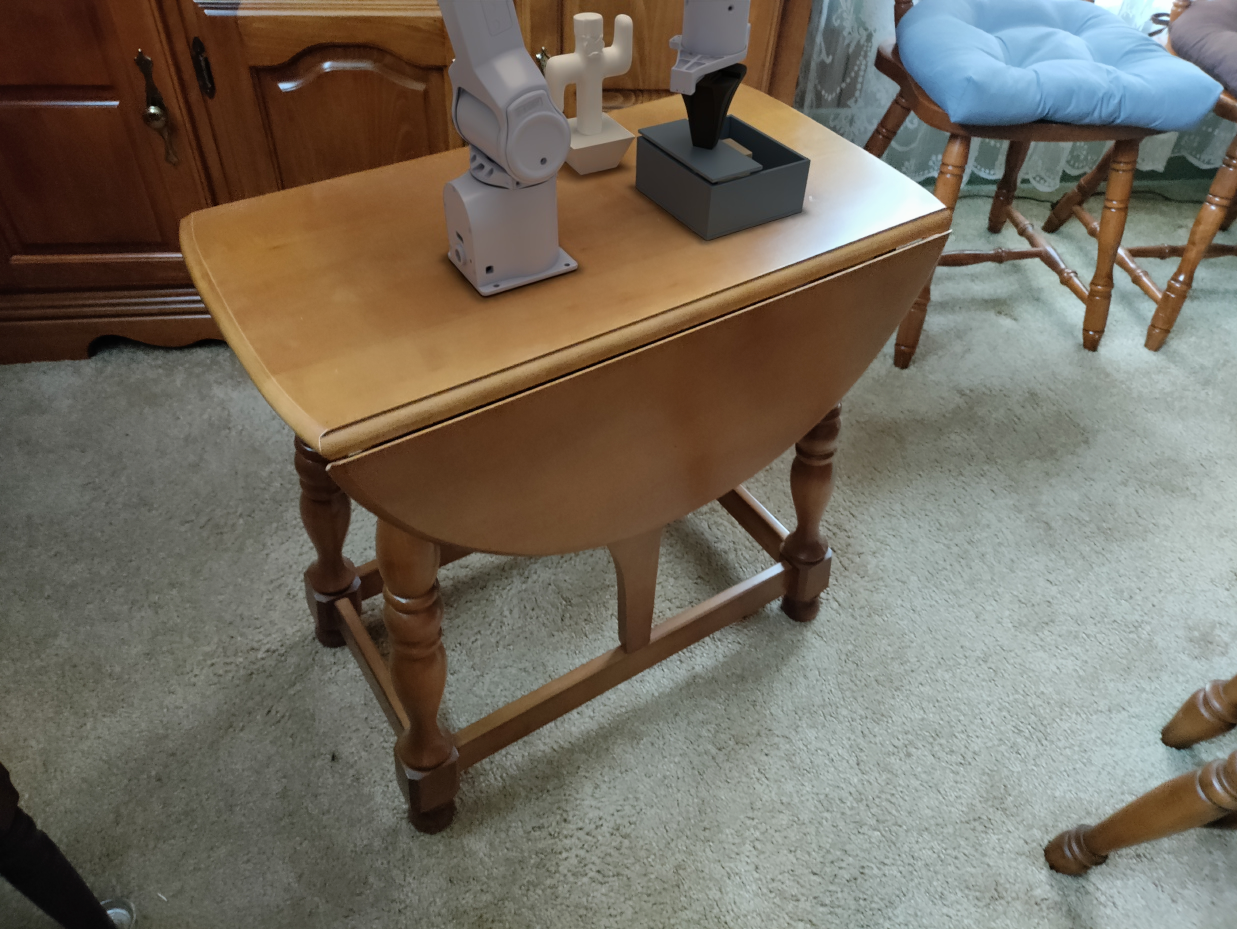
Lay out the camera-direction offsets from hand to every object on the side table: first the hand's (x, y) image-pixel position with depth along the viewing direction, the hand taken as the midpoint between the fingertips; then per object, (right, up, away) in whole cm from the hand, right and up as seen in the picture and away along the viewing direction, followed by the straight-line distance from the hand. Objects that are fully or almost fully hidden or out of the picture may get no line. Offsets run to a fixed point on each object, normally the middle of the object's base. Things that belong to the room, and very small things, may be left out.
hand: (704, 145), depth 83 cm
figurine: (-11, +2, +11) cm, 16 cm away
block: (+4, 0, +6) cm, 7 cm away
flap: (-1, 0, 0) cm, 1 cm away
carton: (+2, -4, +5) cm, 6 cm away
